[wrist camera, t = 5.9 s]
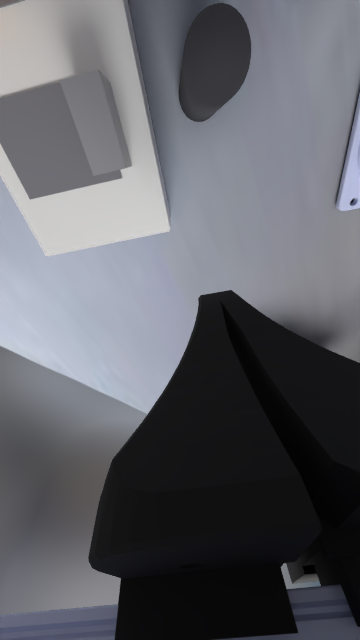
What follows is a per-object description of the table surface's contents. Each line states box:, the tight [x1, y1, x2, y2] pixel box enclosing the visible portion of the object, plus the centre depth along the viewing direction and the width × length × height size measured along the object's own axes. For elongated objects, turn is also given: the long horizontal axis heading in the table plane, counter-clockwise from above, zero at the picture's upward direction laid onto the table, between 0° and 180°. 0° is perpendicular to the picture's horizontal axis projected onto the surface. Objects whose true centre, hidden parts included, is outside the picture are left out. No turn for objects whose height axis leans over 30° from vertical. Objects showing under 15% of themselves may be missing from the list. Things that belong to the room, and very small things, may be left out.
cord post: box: [179, 3, 251, 122], centre depth 10 cm, size 2×2×6 cm
